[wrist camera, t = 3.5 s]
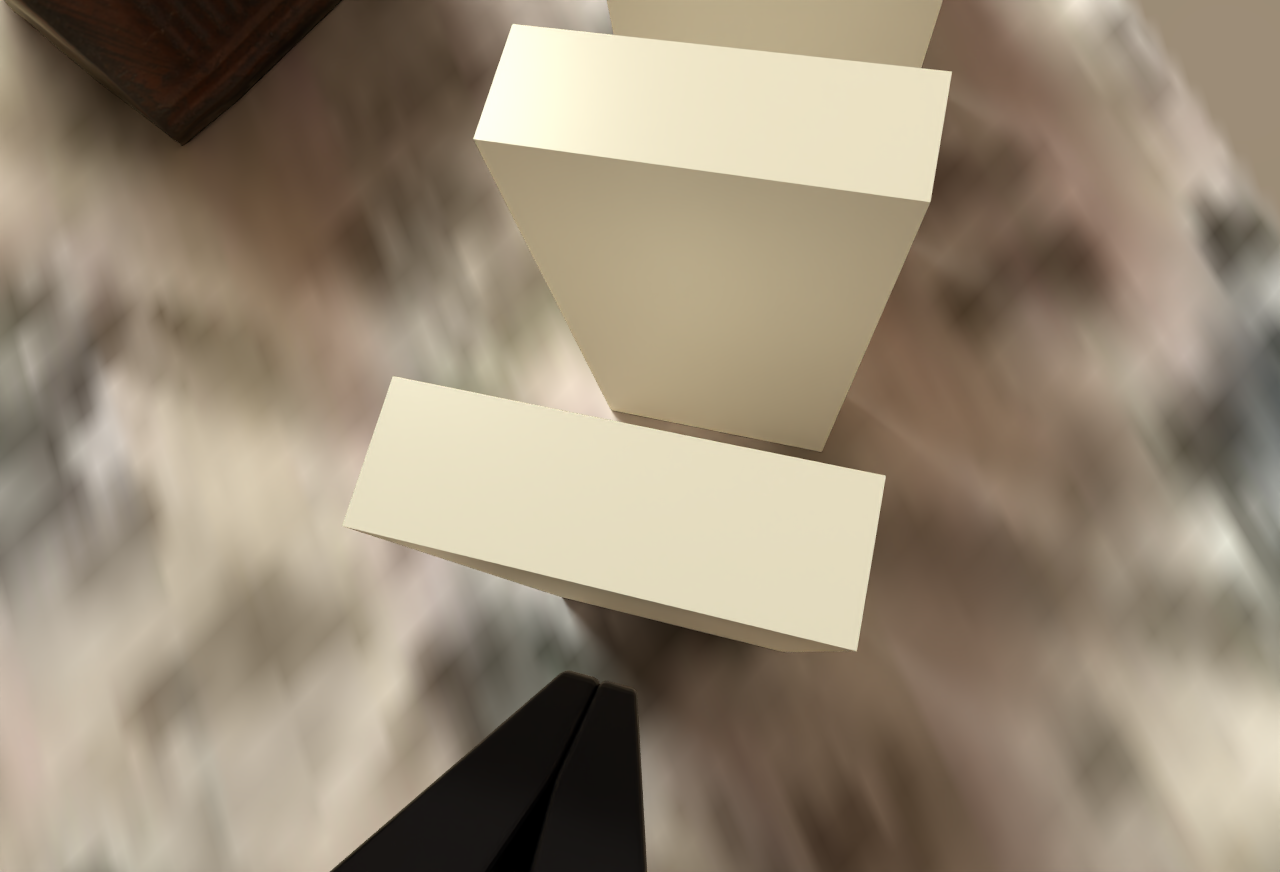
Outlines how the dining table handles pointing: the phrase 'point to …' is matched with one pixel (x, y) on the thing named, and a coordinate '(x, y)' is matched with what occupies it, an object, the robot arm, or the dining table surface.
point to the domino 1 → (789, 26)
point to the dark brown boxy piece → (175, 49)
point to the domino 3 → (625, 515)
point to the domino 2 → (714, 215)
